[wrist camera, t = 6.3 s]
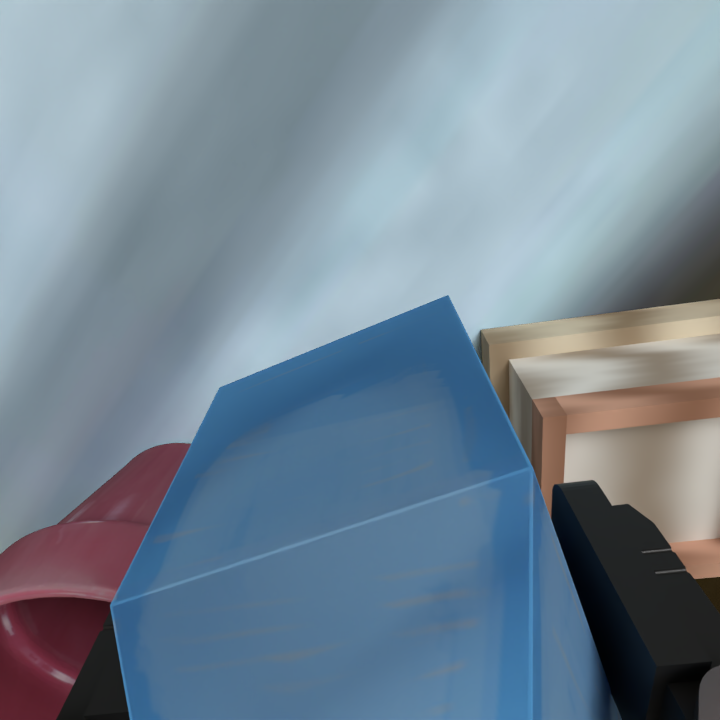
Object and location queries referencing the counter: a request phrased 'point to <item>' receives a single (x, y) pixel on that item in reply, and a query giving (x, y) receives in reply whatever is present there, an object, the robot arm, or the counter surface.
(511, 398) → the pedestal
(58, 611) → the plant pot
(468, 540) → the perfume bottle
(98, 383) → the counter surface
